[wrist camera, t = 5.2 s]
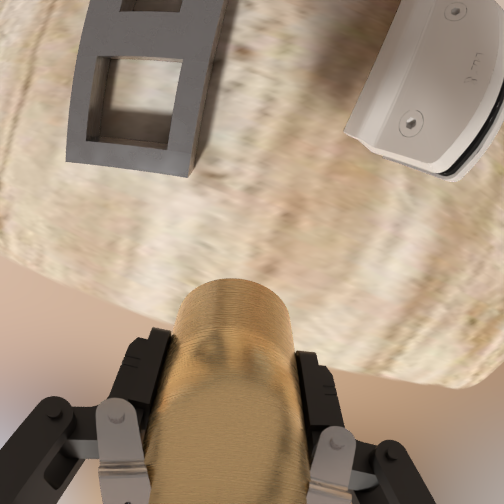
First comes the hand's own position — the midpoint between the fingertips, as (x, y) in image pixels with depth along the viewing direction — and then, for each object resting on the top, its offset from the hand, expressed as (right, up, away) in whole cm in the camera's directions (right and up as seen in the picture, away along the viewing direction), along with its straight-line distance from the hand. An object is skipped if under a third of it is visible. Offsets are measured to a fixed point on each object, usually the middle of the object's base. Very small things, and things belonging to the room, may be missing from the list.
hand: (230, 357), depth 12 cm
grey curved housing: (+14, +19, +8) cm, 25 cm away
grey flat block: (-7, +20, +7) cm, 22 cm away
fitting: (0, +1, +2) cm, 2 cm away
